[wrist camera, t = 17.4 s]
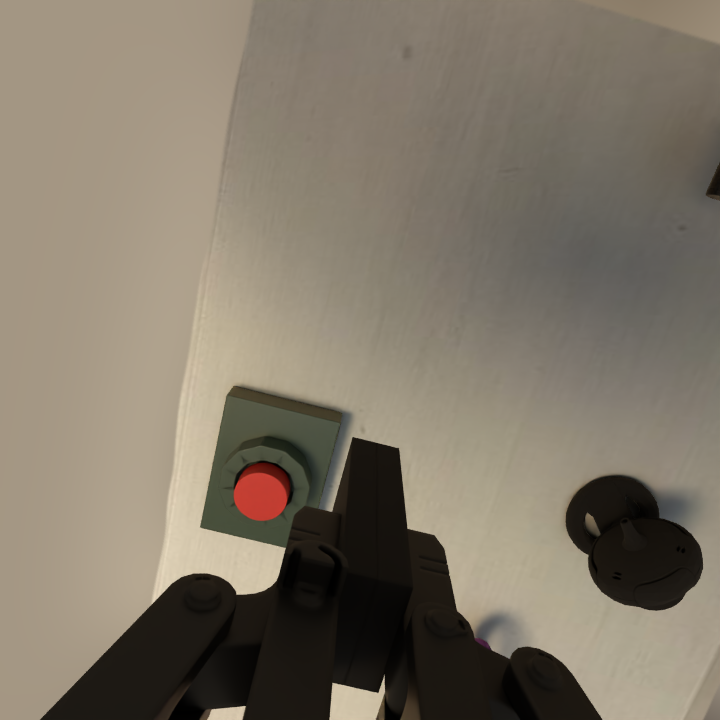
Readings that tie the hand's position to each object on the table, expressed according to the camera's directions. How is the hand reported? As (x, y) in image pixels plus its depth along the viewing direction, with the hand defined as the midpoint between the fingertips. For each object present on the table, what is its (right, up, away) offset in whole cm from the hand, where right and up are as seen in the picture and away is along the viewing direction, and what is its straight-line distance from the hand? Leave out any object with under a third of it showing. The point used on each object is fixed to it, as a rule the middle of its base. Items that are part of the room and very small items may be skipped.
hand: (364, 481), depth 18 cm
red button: (-8, -6, +26) cm, 27 cm away
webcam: (+21, -9, +30) cm, 37 cm away
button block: (-7, -5, +29) cm, 30 cm away
